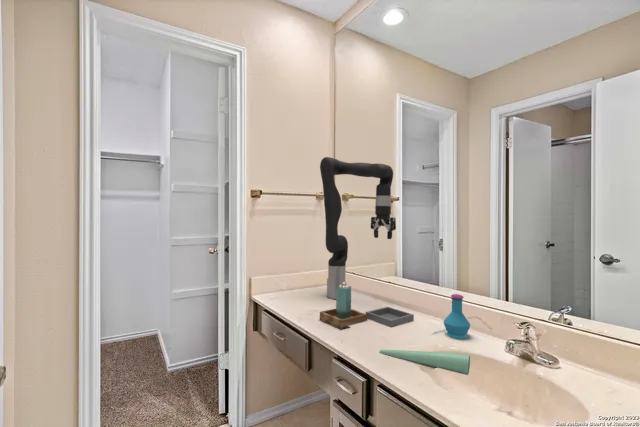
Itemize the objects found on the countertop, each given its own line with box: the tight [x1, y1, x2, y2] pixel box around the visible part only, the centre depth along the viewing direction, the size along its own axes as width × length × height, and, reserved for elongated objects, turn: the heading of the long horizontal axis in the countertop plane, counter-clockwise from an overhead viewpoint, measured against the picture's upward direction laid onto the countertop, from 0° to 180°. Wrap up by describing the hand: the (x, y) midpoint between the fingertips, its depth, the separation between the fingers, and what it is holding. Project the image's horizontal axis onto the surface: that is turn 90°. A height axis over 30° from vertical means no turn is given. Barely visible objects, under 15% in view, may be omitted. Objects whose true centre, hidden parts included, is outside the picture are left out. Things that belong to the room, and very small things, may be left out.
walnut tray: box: [319, 308, 368, 331], centre depth 138 cm, size 14×14×4 cm
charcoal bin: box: [365, 306, 415, 328], centre depth 139 cm, size 14×14×4 cm
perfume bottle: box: [443, 293, 471, 339], centre depth 125 cm, size 9×9×15 cm
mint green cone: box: [379, 349, 471, 376], centre depth 102 cm, size 5×6×27 cm
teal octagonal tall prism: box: [335, 281, 352, 319], centre depth 139 cm, size 6×6×16 cm
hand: (382, 238), depth 163 cm, fingers open, 8 cm apart
